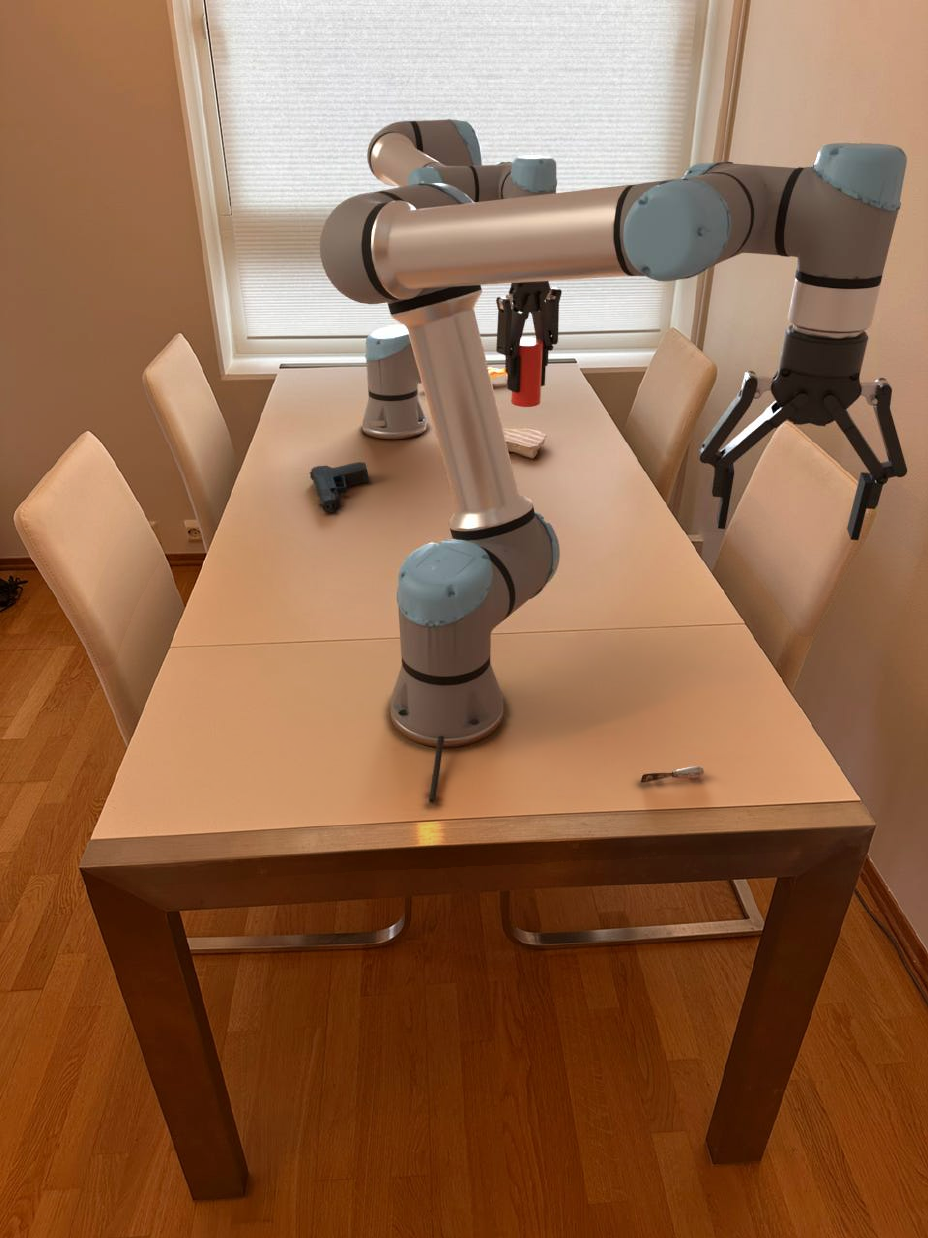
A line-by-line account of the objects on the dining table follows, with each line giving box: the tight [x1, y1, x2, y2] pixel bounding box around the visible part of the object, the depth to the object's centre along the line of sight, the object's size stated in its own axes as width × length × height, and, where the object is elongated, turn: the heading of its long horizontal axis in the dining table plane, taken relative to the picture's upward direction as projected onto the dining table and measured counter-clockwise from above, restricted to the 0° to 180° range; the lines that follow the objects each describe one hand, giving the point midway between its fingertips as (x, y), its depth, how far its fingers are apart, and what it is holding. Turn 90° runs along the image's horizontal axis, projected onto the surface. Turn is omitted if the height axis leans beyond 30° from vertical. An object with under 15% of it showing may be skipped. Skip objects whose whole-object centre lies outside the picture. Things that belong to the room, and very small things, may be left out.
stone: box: [502, 427, 547, 459], centre depth 203 cm, size 13×12×3 cm
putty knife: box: [640, 765, 705, 784], centre depth 109 cm, size 1×8×2 cm, turn 103°
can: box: [510, 337, 543, 408], centre depth 166 cm, size 6×6×11 cm
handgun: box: [309, 461, 369, 514], centre depth 182 cm, size 3×18×12 cm
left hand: (526, 386), depth 168 cm, fingers closed on can, 5 cm apart
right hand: (785, 529), depth 96 cm, fingers open, 13 cm apart
